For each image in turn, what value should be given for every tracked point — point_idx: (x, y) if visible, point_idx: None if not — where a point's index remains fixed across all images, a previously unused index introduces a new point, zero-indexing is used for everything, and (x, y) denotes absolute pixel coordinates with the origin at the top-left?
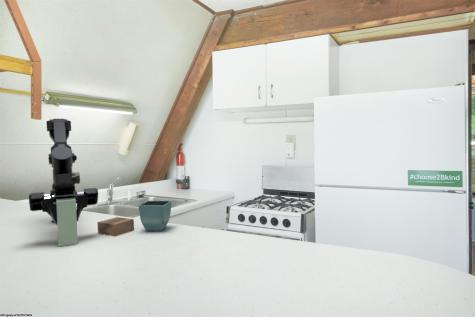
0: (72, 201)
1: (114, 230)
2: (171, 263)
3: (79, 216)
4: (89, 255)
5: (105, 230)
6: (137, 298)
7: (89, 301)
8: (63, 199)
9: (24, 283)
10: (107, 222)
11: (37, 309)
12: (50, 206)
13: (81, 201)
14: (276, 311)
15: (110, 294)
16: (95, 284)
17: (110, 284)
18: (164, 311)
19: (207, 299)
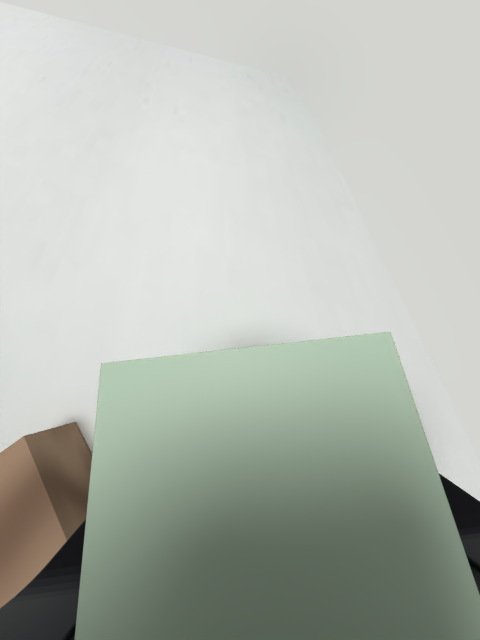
0: (161, 357)
1: (54, 429)
2: (47, 136)
3: None
4: (185, 241)
5: (87, 483)
6: (142, 62)
7: (198, 72)
8: (329, 609)
9: (298, 146)
10: (35, 526)
11: (258, 74)
12: (458, 507)
13: (25, 607)
14: (31, 11)
15: (171, 78)
16: (186, 108)
17: (166, 101)
18: (125, 36)
19: (72, 40)
